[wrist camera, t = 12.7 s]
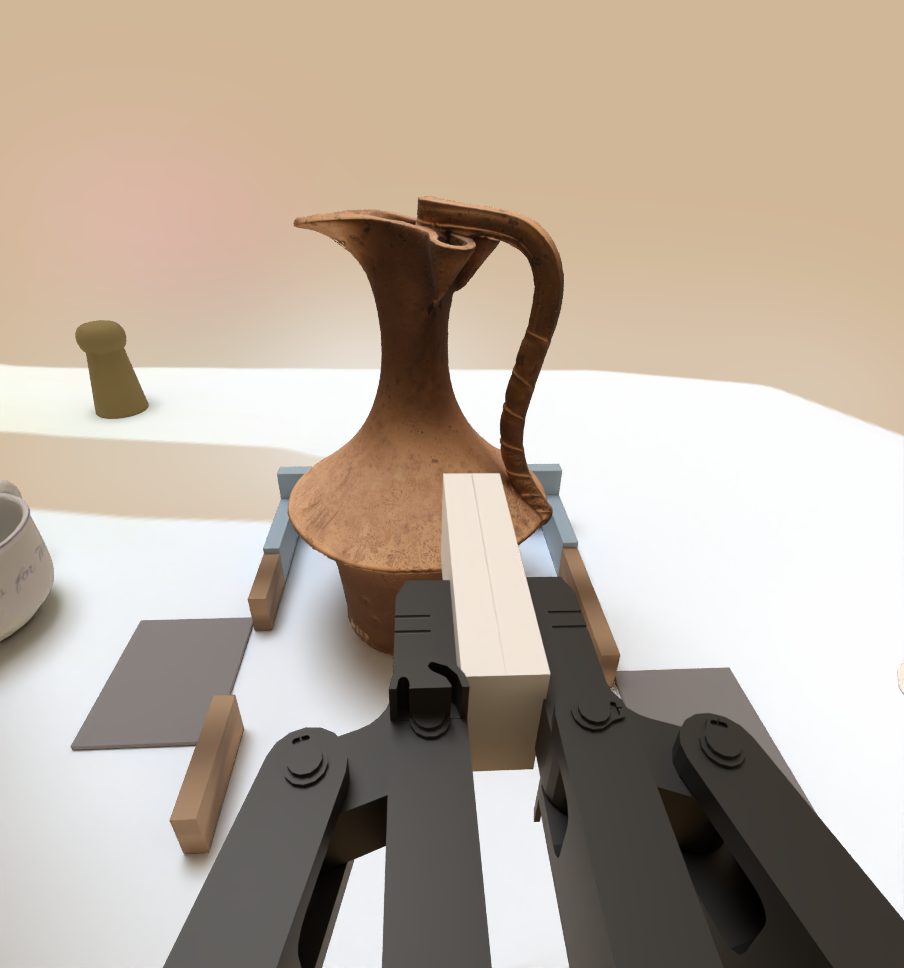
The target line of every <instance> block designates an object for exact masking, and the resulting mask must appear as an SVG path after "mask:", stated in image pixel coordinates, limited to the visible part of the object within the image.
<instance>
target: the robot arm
mask: <svg viewBox="0 0 904 968" xmlns="http://www.w3.org/2000/svg"><path fill="white" fill-rule="evenodd" d="M441 563H442V577H443V580H419V581H405V583H404V584H403V586H402V587H401V589H400V591H399V592H398V594H397V596H396V605H395V635H394V664H393V676H392V680H391V683H390V687H389V704H388V706H387V709H386V710H385V711H384V712H383V713H382V715H381V716H380V717H379V718H378V719H376V720H375V721H374V722H372V723H371V724H370V725H367V726H365V727H363V728H361V729H359V730H356V731H353V732H350V733H347V734H344V735H341V736H339V737H338V736H337V735H336V734H335V733H333V732H331V731H328V730H326V729H323V728H303V729H300V730H297V731H294V732H291V733H289V734H288V735H286V736H285V737H284V738H282V739H281V740H279V741H278V742H277V743H276V744H275V745H274V747H273V748H272V749H271V751H270V752H269V753H268V755H267V756H266V758H265V760H264V762H263V764H262V766H261V768H260V770H259V773H258V775H257V777H256V779H255V781H254V783H253V785H252V787H251V789H250V791H249V793H248V795H247V797H246V799H245V801H244V803H243V805H242V807H241V809H240V811H239V813H238V815H237V817H236V819H235V822H234V824H233V826H232V828H231V830H230V832H229V834H228V836H227V838H226V840H225V842H224V844H223V846H222V848H221V850H220V852H219V854H218V856H217V858H216V860H215V862H214V864H213V866H212V869H211V871H210V873H209V875H208V877H207V879H206V881H205V883H204V885H203V887H202V889H201V891H200V893H199V895H198V897H197V899H196V901H195V903H194V905H193V907H192V909H191V911H190V913H189V915H188V918H187V920H186V922H185V924H184V926H183V928H182V930H181V932H180V934H179V936H178V938H177V940H176V942H175V944H174V946H173V948H172V950H171V952H170V954H169V956H168V958H167V960H166V962H165V965H164V967H163V968H322V966H323V963H324V959H325V956H326V953H327V949H328V946H329V942H330V939H331V936H332V932H333V929H334V926H335V922H336V919H337V916H338V912H339V909H340V906H341V902H342V899H343V896H344V892H345V889H346V886H347V882H348V879H349V876H350V872H351V869H352V866H353V862H354V859H356V858H358V857H361V856H363V855H365V854H368V853H370V852H372V851H375V850H377V849H380V848H382V847H384V846H386V863H385V893H384V924H383V954H382V968H492V967H491V956H490V946H489V936H488V926H487V915H486V905H485V895H484V884H483V874H482V864H481V854H480V843H479V833H478V823H477V813H476V802H475V792H474V782H473V771H495V770H521V769H533V767H534V761H535V756H536V757H537V762H538V767H539V772H540V782H539V787H538V792H537V797H536V802H535V807H534V822H540V818H541V817H542V822H543V827H544V833H545V838H546V844H547V849H548V854H549V860H550V865H551V871H552V876H553V881H554V887H555V892H556V898H557V903H558V908H559V914H560V919H561V924H562V930H563V935H564V941H565V946H566V951H567V957H568V962H569V968H904V920H903V919H902V917H901V916H900V915H899V914H898V913H897V911H896V910H895V909H894V908H893V906H892V905H891V904H890V903H889V902H888V900H887V899H886V898H885V897H884V896H883V894H882V893H881V892H880V891H879V889H878V888H877V887H876V886H875V885H874V883H873V882H872V881H871V880H870V878H869V877H868V876H867V875H866V874H865V872H864V871H863V870H862V869H861V868H860V866H859V865H858V864H857V863H856V861H855V860H854V859H853V858H852V857H851V855H850V854H849V853H848V852H847V851H846V849H845V848H844V847H843V846H842V844H841V843H840V842H839V841H838V840H837V838H836V837H835V836H834V835H833V834H832V832H831V831H830V830H829V829H828V827H827V826H826V825H825V824H824V823H823V821H822V820H821V819H820V818H819V817H818V815H817V814H816V813H815V812H814V810H813V809H812V808H811V807H810V806H809V804H808V803H807V802H806V801H805V800H804V798H803V797H802V796H801V795H800V793H799V792H798V791H797V790H796V789H795V787H794V786H793V785H792V784H791V783H790V781H789V780H788V779H787V778H786V776H785V775H784V774H783V773H782V772H781V770H780V769H779V768H778V767H777V766H776V764H775V763H774V762H773V761H772V759H771V758H770V757H769V756H768V755H767V753H766V752H765V751H764V750H763V749H762V747H761V746H760V745H759V744H758V742H757V741H756V740H755V739H754V738H753V737H752V736H751V735H750V734H749V733H748V732H747V731H746V730H745V729H744V728H743V727H742V726H741V725H739V724H737V723H735V722H734V721H732V720H730V719H728V718H726V717H724V716H720V715H716V714H712V713H701V714H694V715H693V716H691V717H689V718H687V719H686V720H685V721H684V723H683V725H682V727H681V726H678V725H674V724H670V723H666V722H662V721H658V720H655V719H651V718H648V717H645V716H642V715H639V714H637V713H636V712H634V711H632V710H630V709H629V708H627V707H626V706H625V704H624V702H623V701H622V700H621V699H620V698H619V697H618V696H616V695H615V694H614V693H613V692H612V691H611V690H610V688H609V686H608V684H607V682H606V679H605V676H604V673H603V671H602V668H601V665H600V662H599V659H598V656H597V653H596V651H595V648H594V645H593V642H592V639H591V636H590V633H589V631H588V629H587V627H586V626H587V625H586V622H585V619H584V616H583V614H582V613H581V608H580V605H579V602H578V599H577V596H576V594H575V592H574V591H573V590H572V589H571V587H570V586H569V585H568V584H567V583H566V582H565V581H564V580H563V579H562V578H561V577H526V575H525V572H524V568H523V564H522V560H521V556H520V552H519V548H518V544H517V540H516V536H515V532H514V528H513V524H512V520H511V516H510V512H509V508H508V504H507V501H506V497H505V493H504V489H503V485H502V481H501V477H500V473H472V474H443V500H442V535H441Z"/></svg>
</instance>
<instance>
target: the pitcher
mask: <svg viewBox="0 0 904 968" xmlns="http://www.w3.org/2000/svg"><path fill="white" fill-rule="evenodd" d="M417 215H418V216H417V218H413V217H410V216H406V215H402V214H398V213H393V212H387V211H380V210H347V211H342V212H335V213H327V214H317V215H312V216H307V217H299V218H296V219H295V221H294V226H295V227H298V228H304V229H310V230H314V231H317V232H319V233H322V234H324V235H326V236H328V237H330V238H331V239H333V240H334V239H335V240H337V241H338V242H339V243H340V244H342V245H343V246H344V247H346V248H345V249H346V250H348V251H349V252H350V253H351V254H352V255H353V256H354V257H355V258H356V259H357V260H358V262H359V263H360V265H361V266H362V268H363V270H364V271H365V272H366V274H367V277H368V279H369V282H370V285H371V288H372V291H373V294H374V298H375V302H376V307H377V311H378V317H379V324H380V331H381V346H382V362H381V374H380V380H379V386H378V390H377V394H376V398H375V401H374V404H373V407H372V409H371V411H370V414H369V416H368V418H367V419H366V421H365V423H364V425H363V426H362V427H361V429H360V430H359V432H358V433H357V434H356V435H355V436H354V437H353V438H352V439H351V440H350V441H349V442H348V443H347V444H346V445H344V446H343V447H342V448H340V449H339V450H338V451H336V452H335V453H333V454H332V455H330V456H328V457H326V458H325V459H323V460H321V461H320V462H319V463H317V464H316V465H314V466H313V467H312V468H310V469H309V470H308V471H307V472H306V473H305V474H304V475H303V476H302V477H301V478H300V479H299V480H298V482H297V483H296V485H295V486H294V488H293V490H292V491H291V494H290V498H289V502H288V517H289V518H290V522H291V524H292V526H293V527H294V529H295V531H297V534H298V535H299V536H300V537H301V538H302V539H304V541H305V542H306V543H307V544H309V545H310V547H312V548H313V549H314V550H317V551H318V552H320V553H322V554H324V555H325V556H327V557H328V558H330V559H332V560H334V561H336V563H337V566H338V569H339V573H340V577H341V581H342V584H343V588H344V593H345V597H346V601H347V606H348V617H349V620H350V623H351V625H352V628H353V629H354V630H355V632H356V633H357V634H358V635H359V637H360V638H361V639H363V641H365V642H367V643H368V644H369V645H370V646H372V647H373V648H375V649H377V650H379V651H382V652H384V653H387V654H391V655H393V656H394V635H395V605H396V596H397V594H398V592H399V591H400V589H401V587H402V586H403V584H404V583H405V581H419V580H443V577H442V563H441V535H442V500H443V474H472V473H500V477H501V481H502V485H503V489H504V493H505V497H506V501H507V504H508V508H509V512H510V516H511V520H512V524H513V528H514V532H515V536H516V540H517V544H518V545H520V544H521V543H522V542H523V541H525V540H526V539H527V538H528V537H530V536H531V535H532V534H533V533H534V532H535V531H536V530H537V529H538V528H540V527H541V526H543V525H545V524H547V523H548V521H549V520H550V519H551V517H552V514H553V509H552V506H551V505H550V504H549V503H548V502H547V497H546V494H545V490H544V488H543V486H542V485H541V483H540V481H539V480H538V478H537V477H536V476H535V474H534V473H533V472H532V471H531V470H530V469H529V468H528V466H527V463H526V459H525V454H524V447H523V430H524V425H525V417H526V413H527V410H528V407H529V404H530V400H531V397H532V394H533V392H534V388H535V384H536V381H537V378H538V376H539V373H540V370H541V367H542V364H543V361H544V358H545V356H546V353H547V350H548V348H549V345H550V342H551V338H552V336H553V333H554V331H555V328H556V325H557V321H558V318H559V314H560V310H561V304H562V299H563V290H564V289H563V287H564V273H563V269H562V262H561V258H560V255H559V253H558V250H557V248H556V246H555V243H554V242H553V240H552V239H551V237H550V235H549V234H548V232H547V231H546V230H545V229H544V228H543V227H542V226H541V225H540V224H539V223H537V222H536V221H534V220H533V219H531V218H529V217H526V216H524V215H521V214H518V213H515V212H511V211H507V210H502V209H497V208H492V207H487V206H479V205H471V204H465V203H460V202H455V201H450V200H445V199H438V198H436V197H428V196H426V197H419V198H418V210H417ZM335 240H334V241H335ZM500 240H501V241H503V242H506V243H509V244H510V245H511V246H513V247H515V248H517V249H519V250H520V251H521V252H522V253H523V254H524V255H525V256H526V257H527V259H528V260H529V263H530V265H531V268H532V272H533V277H534V285H535V290H534V296H533V304H532V309H531V314H530V318H529V325H528V327H527V330H526V334H525V337H524V339H523V340H522V343H521V346H520V349H519V352H518V355H517V358H516V364H515V366H514V368H513V371H512V375H511V378H510V380H509V383H508V387H507V390H506V396H505V403H504V404H503V412H502V415H501V420H500V434H501V438H500V443H501V450H500V449H497V448H495V447H493V446H492V445H491V444H489V443H488V442H487V441H486V440H484V439H483V438H482V437H481V436H480V435H479V434H478V433H477V432H476V431H475V430H474V429H473V428H472V427H471V425H470V424H469V423H468V421H467V420H466V418H465V417H464V415H463V413H462V411H461V409H460V407H459V405H458V403H457V401H456V398H455V395H454V392H453V389H452V385H451V381H450V373H449V367H448V319H449V312H450V307H451V302H452V296H453V293H454V292H455V291H458V290H460V289H461V288H462V287H464V286H465V285H466V284H467V282H468V281H469V280H470V279H471V278H472V277H473V275H474V274H475V272H476V271H477V269H479V267H480V266H481V265H482V264H483V262H484V261H485V260H486V258H487V257H488V256H489V255H490V254H491V253H492V251H493V250H494V249H495V248H496V247H497V245H498V244H499V242H500ZM335 242H336V241H335ZM338 242H337V243H338ZM342 242H343V243H345V244H343V243H342ZM339 243H338V244H339ZM340 244H339V245H340ZM342 245H341V246H342Z"/></svg>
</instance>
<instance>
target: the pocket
mask: <svg viewBox="0 0 904 968" xmlns="http://www.w3.org/2000/svg"><path fill="white" fill-rule="evenodd" d="M527 466H528V468H529V469H530V470H531V471H532V472H533V473H534V474H535V476H536V477H537V478H538V480H539V481H540V483H541V485H542V486H543V488H544V490H545V494H546V497H547V502H548V503H549V504H550V505H551V506H552V509H553V514H552V517H551V519H550V520H549V521H548V523H547V524H545V525H543V526H541V527H542V530H543V533H544V536H545V539H546V542H547V545H548V548H549V551H550V554H551V557H552V560H553V563H554V566H555V569H556V572H557V575H558V573H559V566H560V559H561V553H562V548H577V547H578V541H577V538H576V536H575V533H574V531H573V528H572V526H571V524H570V521H569V519H568V516H567V514H566V511H565V509H564V507H563V504H562V502H561V499H560V497H559V490H560V482H561V475H562V469H561V467H560V465H559V464H527ZM310 468H312V467H280V468H279V471H278V473H277V476H278V483H279V489H280V495H281V501H280V503H279V506H278V509H277V512H276V514H275V517H274V520H273V523H272V525H271V528H270V531H269V534H268V537H267V539H266V542H265V545H264V548H263V550H264V554H280V559H281V564H282V570H283V576H284V582H286V579H287V575H288V571H289V568H290V564H291V561H292V557H293V554H294V550H295V547H296V543H297V540H298V536H299V535H298V534H297V531H295V529H294V527H293V526H292V524H291V522H290V518H289V517H288V502H289V498H290V494H291V491H292V490H293V488H294V486H295V485H296V483H297V482H298V480H299V479H300V478H301V477H302V476H303V475H304V474H305V473H306V472H307V471H308V470H309V469H310Z"/></svg>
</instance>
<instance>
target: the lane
mask: <svg viewBox="0 0 904 968" xmlns="http://www.w3.org/2000/svg"><path fill="white" fill-rule="evenodd" d="M558 577H561V578H562V579H563V580H564V581H565V582H566V583H567V584H568V585H569V586H570V587H571V589H572V590H573V591H574V592H575V594H576V596H577V599H578V602H579V605H580V608H581V613H582V614H583V616H584V619H585V622H586V625H587V626H586V627H587V629H588V631H589V633H590V636H591V639H592V642H593V645H594V648H595V651H596V653H597V656H598V659H599V662H600V665H601V668H602V671H603V673H604V676H605V679H606V682H607V684H608V686H609V687H613V683H614V679H615V675H616V670H617V666H618V662H619V658H620V653H619V650H618V648H617V646H616V643H615V641H614V638H613V636H612V633H611V631H610V628H609V626H608V623H607V621H606V618H605V616H604V613H603V611H602V608H601V606H600V603H599V601H598V598H597V596H596V593H595V591H594V588H593V586H592V583H591V581H590V578H589V576H588V573H587V571H586V568H585V566H584V563H583V561H582V559H581V556H580V554H579V551H578V549H577V548H562V553H561V559H560V566H559V573H558ZM284 585H285V582H284V576H283V570H282V564H281V559H280V554H264V555H263V558H262V560H261V563H260V566H259V569H258V572H257V575H256V577H255V580H254V583H253V586H252V589H251V592H250V594H249V597H248V602H249V607H250V611H251V616H252V621H253V625H254V630H272V627H273V623H274V620H275V616H276V613H277V609H278V606H279V602H280V599H281V595H282V592H283V588H284ZM243 729H244V727H243V723H242V719H241V715H240V711H239V708H238V704H237V700H236V696H235V695H217V696H213V699H212V702H211V705H210V708H209V710H208V713H207V716H206V719H205V722H204V725H203V727H202V730H201V733H200V736H199V739H198V741H197V744H196V747H195V750H194V753H193V756H192V758H191V761H190V764H189V767H188V770H187V773H186V775H185V778H184V781H183V784H182V787H181V790H180V792H179V795H178V798H177V801H176V804H175V807H174V809H173V812H172V815H171V818H170V822H171V825H172V827H173V830H174V832H175V834H176V837H177V839H178V841H179V844H180V846H181V848H182V851H183V853H184V854H188V853H207V852H209V849H210V846H211V842H212V839H213V835H214V832H215V828H216V825H217V821H218V818H219V814H220V811H221V807H222V803H223V800H224V796H225V793H226V789H227V786H228V782H229V779H230V775H231V772H232V768H233V765H234V761H235V758H236V754H237V750H238V747H239V743H240V740H241V736H242V733H243Z"/></svg>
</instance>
